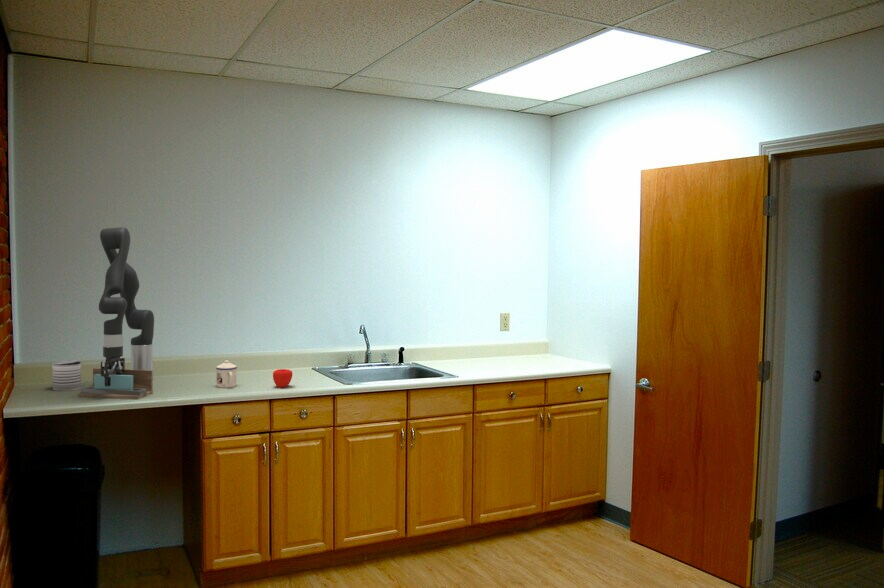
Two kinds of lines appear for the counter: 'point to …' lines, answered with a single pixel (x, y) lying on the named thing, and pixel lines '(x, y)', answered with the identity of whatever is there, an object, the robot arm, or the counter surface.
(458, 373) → the counter surface
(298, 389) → the counter surface
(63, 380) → the can
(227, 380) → the teacup with lid
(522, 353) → the counter surface
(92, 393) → the brown wooden stand
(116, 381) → the sliding panel
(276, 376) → the apple
